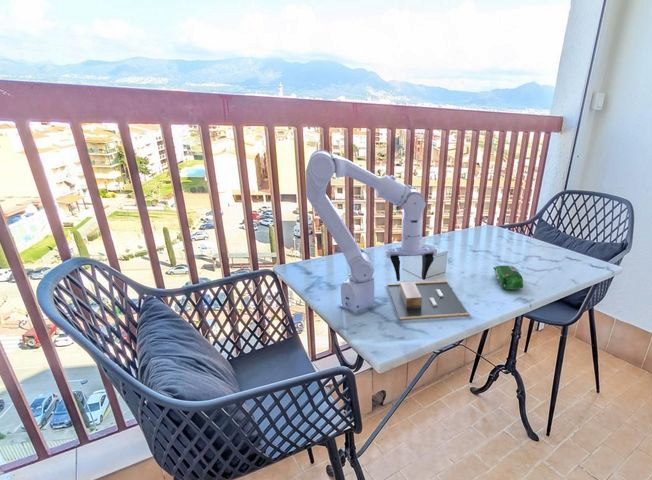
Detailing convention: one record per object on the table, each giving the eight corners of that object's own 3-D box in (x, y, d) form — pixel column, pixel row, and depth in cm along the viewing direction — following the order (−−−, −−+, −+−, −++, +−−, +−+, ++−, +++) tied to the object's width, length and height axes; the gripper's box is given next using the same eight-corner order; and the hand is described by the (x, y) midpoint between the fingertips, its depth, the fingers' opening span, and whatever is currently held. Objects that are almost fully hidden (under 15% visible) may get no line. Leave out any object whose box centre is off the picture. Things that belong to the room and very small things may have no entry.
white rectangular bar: (433, 306, 117) (433, 304, 117) (429, 299, 121) (429, 297, 121) (437, 306, 117) (437, 304, 117) (433, 299, 122) (433, 297, 121)
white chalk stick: (439, 297, 123) (439, 295, 123) (435, 290, 127) (435, 289, 127) (443, 297, 123) (443, 295, 123) (439, 290, 127) (439, 289, 127)
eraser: (406, 309, 115) (406, 298, 114) (399, 292, 126) (399, 282, 124) (421, 308, 116) (421, 297, 114) (413, 291, 126) (413, 281, 125)
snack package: (511, 275, 143) (513, 261, 140) (524, 293, 129) (526, 278, 126) (491, 275, 142) (493, 261, 140) (502, 293, 129) (504, 278, 126)
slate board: (399, 322, 110) (399, 318, 109) (387, 287, 131) (387, 283, 131) (469, 318, 113) (469, 314, 112) (446, 284, 134) (446, 280, 134)
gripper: (433, 229, 116) (431, 272, 122) (384, 231, 114) (384, 275, 120) (439, 236, 110) (437, 281, 116) (387, 238, 108) (387, 284, 114)
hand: (410, 279), depth 118 cm, fingers open, 7 cm apart
